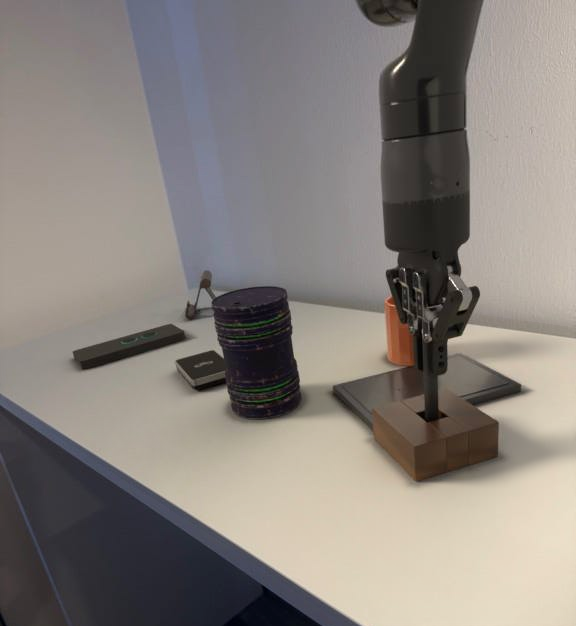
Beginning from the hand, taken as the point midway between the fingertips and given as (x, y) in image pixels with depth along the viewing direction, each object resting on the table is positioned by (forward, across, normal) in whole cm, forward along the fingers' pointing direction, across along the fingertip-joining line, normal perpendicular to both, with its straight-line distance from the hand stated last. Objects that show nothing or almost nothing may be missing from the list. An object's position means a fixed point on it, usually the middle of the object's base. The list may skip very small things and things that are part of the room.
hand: (430, 370), depth 54 cm
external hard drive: (+9, +36, +19) cm, 42 cm away
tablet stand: (+9, +74, +13) cm, 76 cm away
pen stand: (+9, 0, 0) cm, 9 cm away
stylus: (+9, 0, 0) cm, 9 cm away
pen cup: (+9, +24, -11) cm, 28 cm away
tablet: (+9, +12, -6) cm, 17 cm away
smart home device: (+9, +59, +30) cm, 67 cm away
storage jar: (+9, +21, +13) cm, 26 cm away
